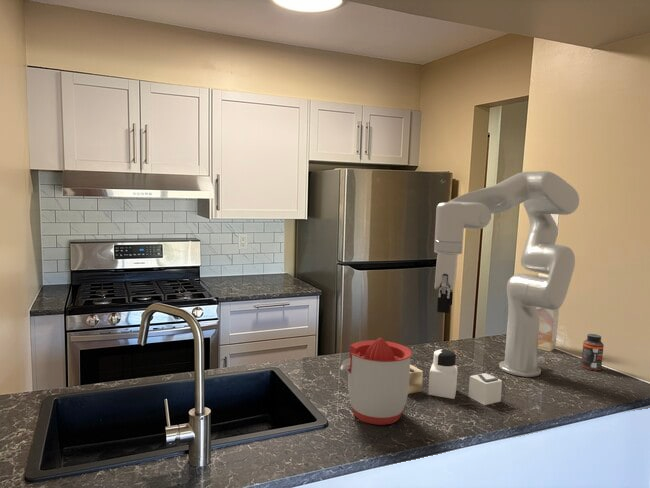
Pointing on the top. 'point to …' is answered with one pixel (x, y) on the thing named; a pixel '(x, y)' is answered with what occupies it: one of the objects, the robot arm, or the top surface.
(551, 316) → the coffeecake box
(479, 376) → the white marked cube
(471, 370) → the top surface
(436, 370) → the medicine bottle
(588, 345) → the supplement bottle
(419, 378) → the maple block one
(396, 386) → the citrus juicer
